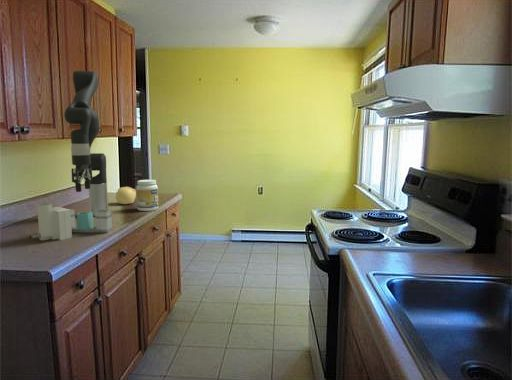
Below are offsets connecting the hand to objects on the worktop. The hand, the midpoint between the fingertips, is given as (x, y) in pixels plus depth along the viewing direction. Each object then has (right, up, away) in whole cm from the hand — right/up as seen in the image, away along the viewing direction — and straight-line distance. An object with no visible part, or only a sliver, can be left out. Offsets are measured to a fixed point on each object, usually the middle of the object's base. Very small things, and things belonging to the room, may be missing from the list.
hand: (83, 190), depth 171 cm
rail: (0, -19, +3) cm, 19 cm away
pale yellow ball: (-4, -9, +69) cm, 70 cm away
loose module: (0, -17, +3) cm, 17 cm away
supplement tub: (+14, -11, +52) cm, 55 cm away
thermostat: (-10, -21, -9) cm, 25 cm away
